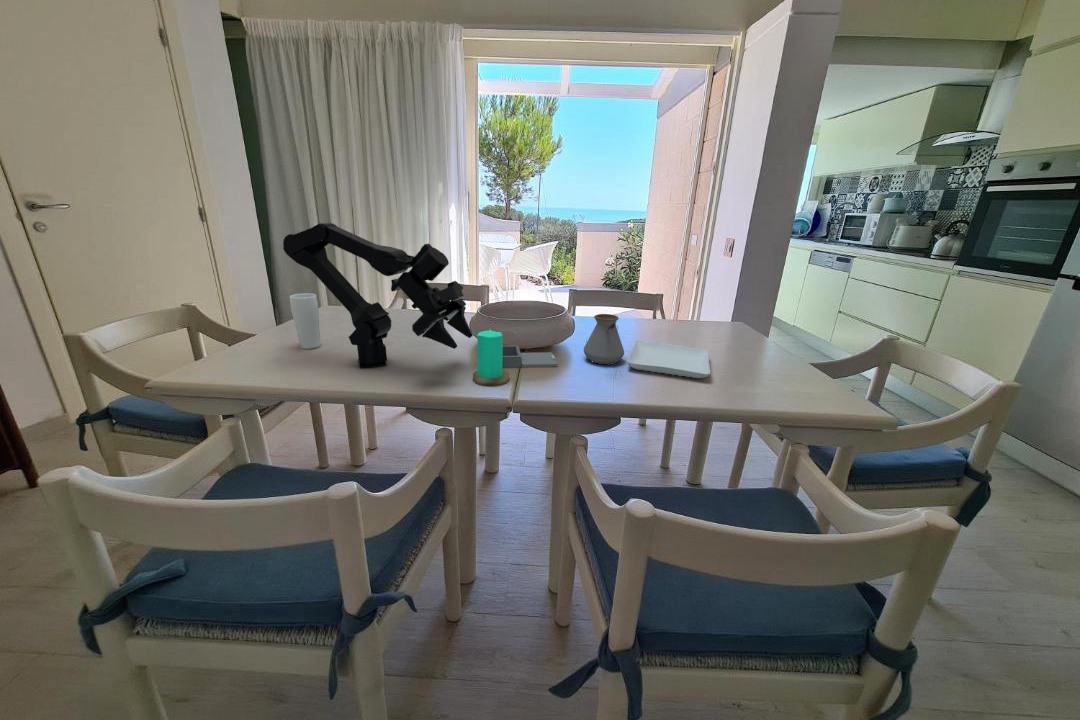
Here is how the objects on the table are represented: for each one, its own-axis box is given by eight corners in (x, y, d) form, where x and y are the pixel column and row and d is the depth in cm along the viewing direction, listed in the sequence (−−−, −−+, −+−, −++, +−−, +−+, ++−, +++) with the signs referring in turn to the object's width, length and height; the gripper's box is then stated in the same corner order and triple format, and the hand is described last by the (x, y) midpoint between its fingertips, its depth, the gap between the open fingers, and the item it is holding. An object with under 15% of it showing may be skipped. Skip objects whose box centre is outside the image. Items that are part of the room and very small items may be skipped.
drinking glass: (300, 344, 127) (291, 293, 122) (325, 342, 129) (318, 292, 124) (295, 351, 121) (286, 298, 116) (321, 349, 123) (314, 297, 117)
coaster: (479, 388, 101) (479, 383, 101) (468, 375, 109) (468, 370, 108) (514, 383, 105) (514, 378, 104) (502, 370, 112) (502, 366, 112)
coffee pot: (581, 352, 128) (585, 303, 123) (620, 354, 128) (625, 305, 123) (585, 380, 108) (590, 322, 103) (631, 382, 108) (638, 324, 103)
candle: (494, 380, 102) (494, 332, 98) (473, 376, 105) (472, 328, 101) (506, 372, 108) (507, 326, 104) (486, 368, 110) (486, 323, 106)
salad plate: (709, 385, 109) (711, 373, 107) (624, 373, 115) (626, 361, 114) (706, 359, 128) (708, 348, 126) (634, 350, 134) (635, 339, 133)
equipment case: (485, 367, 114) (485, 357, 113) (484, 355, 123) (484, 345, 122) (557, 366, 116) (557, 356, 115) (551, 355, 125) (552, 345, 124)
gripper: (421, 277, 92) (470, 332, 93) (458, 266, 109) (498, 313, 111) (391, 309, 96) (438, 361, 98) (431, 294, 113) (470, 339, 115)
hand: (463, 342), depth 105 cm, fingers open, 9 cm apart
